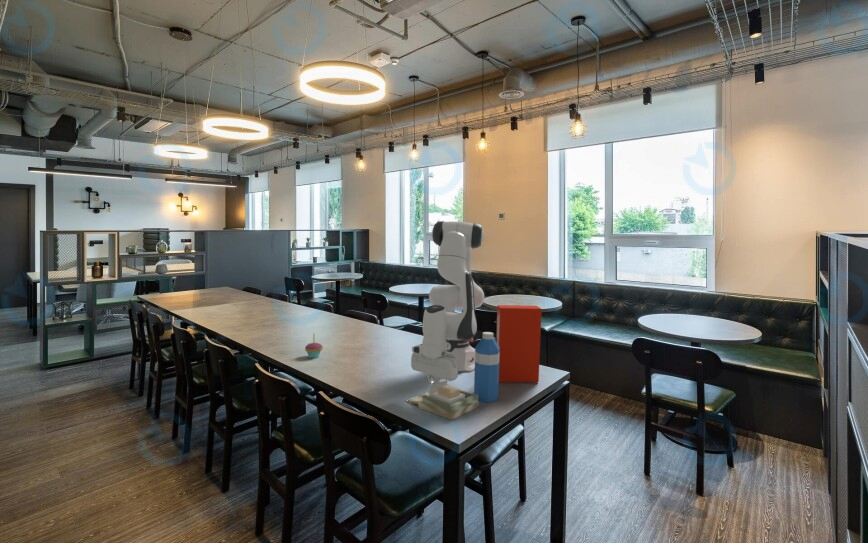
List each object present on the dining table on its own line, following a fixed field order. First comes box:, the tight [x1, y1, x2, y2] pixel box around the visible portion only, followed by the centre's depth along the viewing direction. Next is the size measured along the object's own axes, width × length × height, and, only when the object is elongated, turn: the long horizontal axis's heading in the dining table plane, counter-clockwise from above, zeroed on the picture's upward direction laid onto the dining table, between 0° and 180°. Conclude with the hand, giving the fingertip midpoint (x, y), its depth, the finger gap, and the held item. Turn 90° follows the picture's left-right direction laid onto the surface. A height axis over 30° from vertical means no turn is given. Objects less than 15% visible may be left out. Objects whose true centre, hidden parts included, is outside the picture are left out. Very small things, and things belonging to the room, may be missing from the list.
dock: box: [407, 389, 480, 421], centre depth 151 cm, size 16×23×5 cm
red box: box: [495, 304, 543, 382], centre depth 177 cm, size 8×17×32 cm, turn 91°
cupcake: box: [304, 333, 324, 359], centre depth 207 cm, size 9×8×12 cm
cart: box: [428, 379, 465, 405], centre depth 147 cm, size 8×10×6 cm
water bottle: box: [473, 331, 500, 403], centre depth 157 cm, size 9×9×25 cm
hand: (433, 386), depth 153 cm, fingers closed
